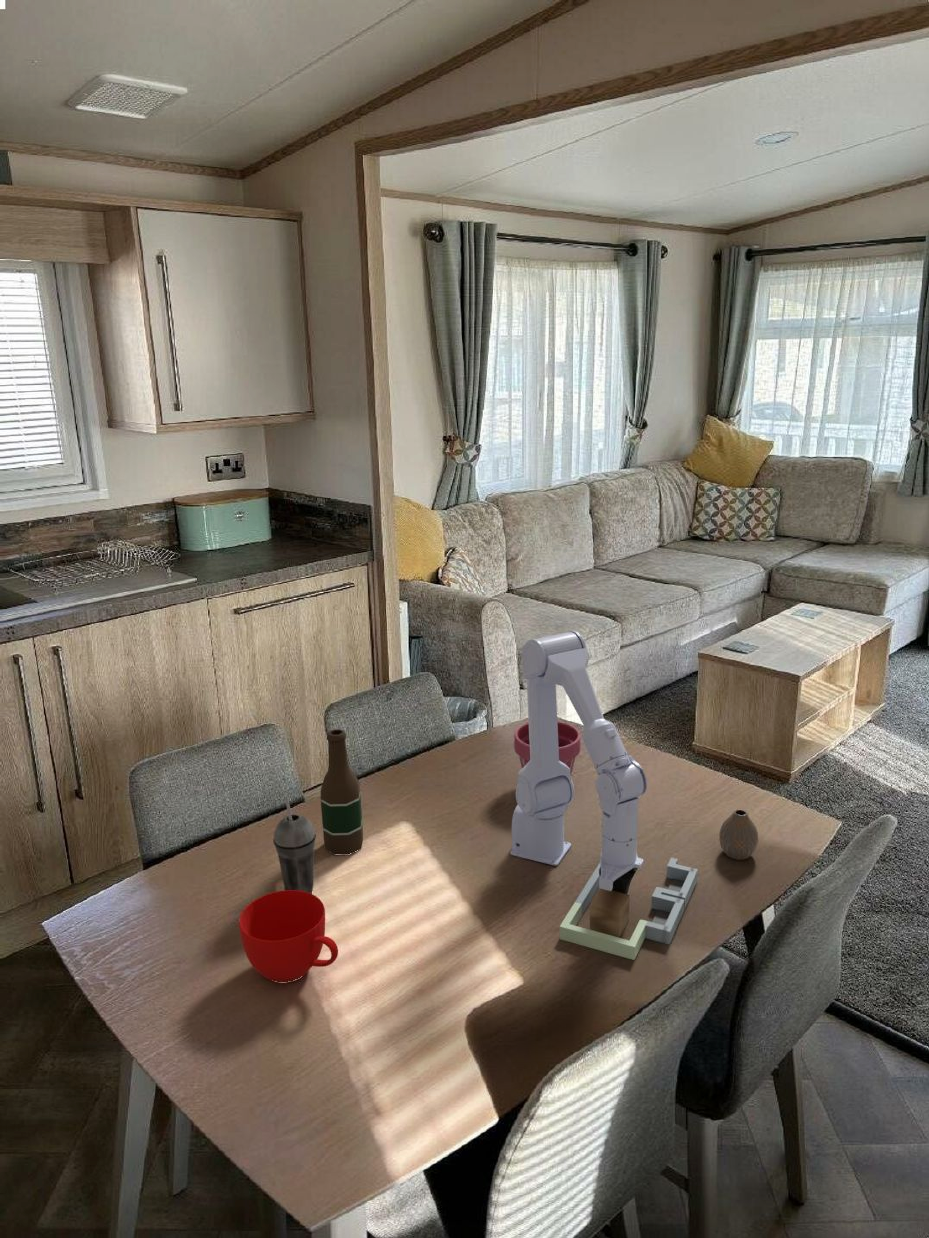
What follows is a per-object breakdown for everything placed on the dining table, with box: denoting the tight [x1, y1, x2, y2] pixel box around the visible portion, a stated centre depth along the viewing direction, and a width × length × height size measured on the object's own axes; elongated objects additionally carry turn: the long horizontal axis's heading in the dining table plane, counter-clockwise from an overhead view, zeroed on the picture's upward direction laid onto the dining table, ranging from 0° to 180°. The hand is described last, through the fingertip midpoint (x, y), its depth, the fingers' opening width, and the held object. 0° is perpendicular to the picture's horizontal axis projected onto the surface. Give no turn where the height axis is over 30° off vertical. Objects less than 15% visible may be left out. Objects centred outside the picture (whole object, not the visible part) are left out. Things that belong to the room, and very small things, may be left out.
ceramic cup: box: [238, 889, 339, 982], centre depth 138 cm, size 13×17×10 cm
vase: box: [718, 808, 759, 861], centre depth 167 cm, size 7×7×9 cm
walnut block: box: [589, 888, 630, 938], centre depth 149 cm, size 5×5×5 cm
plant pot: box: [513, 720, 582, 775], centre depth 194 cm, size 14×14×13 cm
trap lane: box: [559, 857, 699, 961], centre depth 154 cm, size 16×27×2 cm, turn 153°
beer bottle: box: [320, 728, 364, 855], centre depth 171 cm, size 8×8×24 cm
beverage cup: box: [272, 796, 317, 894], centre depth 156 cm, size 7×7×20 cm
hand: (617, 904), depth 152 cm, fingers closed
